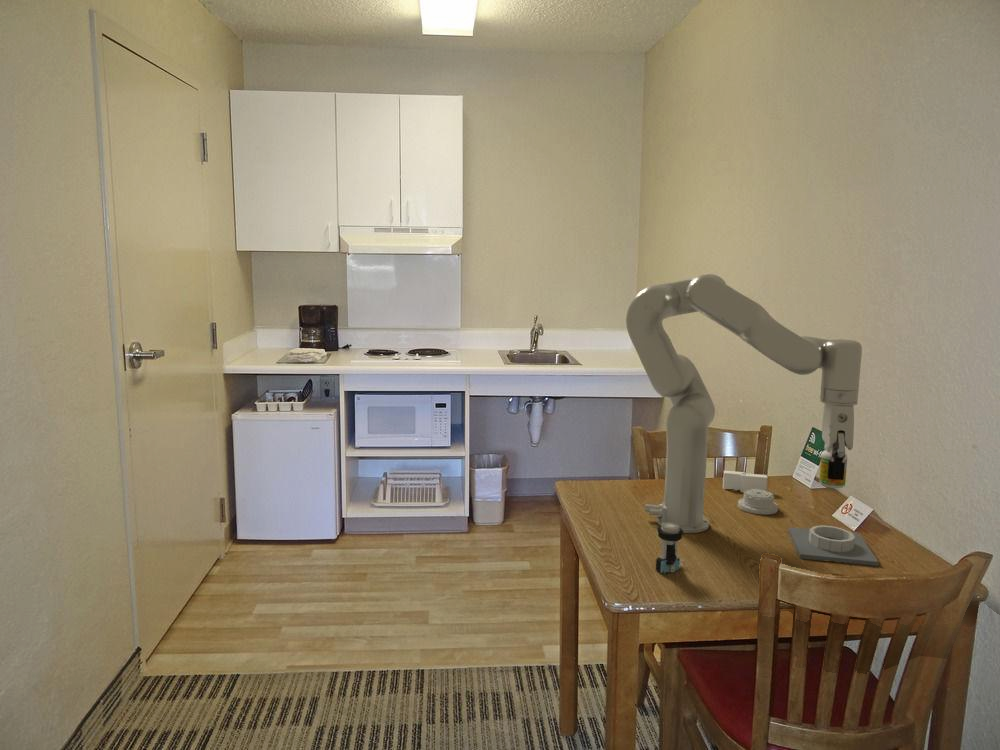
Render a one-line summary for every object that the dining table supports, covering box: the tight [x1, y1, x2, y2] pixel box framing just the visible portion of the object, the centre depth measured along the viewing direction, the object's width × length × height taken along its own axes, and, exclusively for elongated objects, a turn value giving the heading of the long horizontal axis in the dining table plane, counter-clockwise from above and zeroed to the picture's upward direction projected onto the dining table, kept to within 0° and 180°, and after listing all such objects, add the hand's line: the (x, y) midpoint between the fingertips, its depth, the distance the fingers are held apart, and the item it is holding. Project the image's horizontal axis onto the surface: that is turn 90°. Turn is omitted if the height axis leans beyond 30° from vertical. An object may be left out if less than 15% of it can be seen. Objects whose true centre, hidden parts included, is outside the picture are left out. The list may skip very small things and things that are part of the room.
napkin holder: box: [722, 470, 768, 493], centre depth 205 cm, size 15×11×6 cm
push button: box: [655, 522, 684, 574], centre depth 153 cm, size 7×5×10 cm
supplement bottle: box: [818, 442, 848, 489], centre depth 162 cm, size 5×5×10 cm
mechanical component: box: [737, 489, 779, 516], centre depth 191 cm, size 10×4×10 cm
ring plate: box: [787, 524, 879, 567], centre depth 166 cm, size 16×16×4 cm
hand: (832, 474), depth 162 cm, fingers closed on supplement bottle, 5 cm apart
